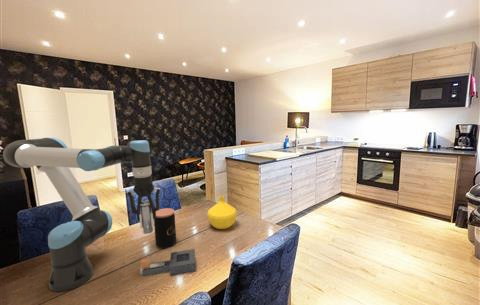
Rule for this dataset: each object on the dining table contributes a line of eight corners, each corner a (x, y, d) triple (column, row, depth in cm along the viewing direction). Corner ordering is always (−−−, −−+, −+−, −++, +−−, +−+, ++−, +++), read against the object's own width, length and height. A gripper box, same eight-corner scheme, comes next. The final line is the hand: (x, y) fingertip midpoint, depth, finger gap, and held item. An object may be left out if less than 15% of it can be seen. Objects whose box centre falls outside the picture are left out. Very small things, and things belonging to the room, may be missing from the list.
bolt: (140, 274, 97) (139, 262, 97) (141, 270, 100) (140, 259, 99) (164, 270, 100) (164, 259, 99) (165, 266, 102) (164, 255, 101)
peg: (141, 235, 99) (138, 204, 97) (143, 229, 104) (140, 200, 102) (153, 233, 100) (150, 203, 98) (154, 228, 105) (152, 199, 103)
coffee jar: (170, 249, 115) (168, 216, 113) (151, 248, 118) (149, 215, 115) (179, 239, 126) (178, 208, 123) (162, 237, 128) (160, 207, 125)
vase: (221, 216, 154) (220, 189, 151) (242, 223, 143) (242, 194, 140) (201, 227, 139) (200, 197, 136) (224, 235, 128) (223, 203, 126)
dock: (141, 280, 93) (140, 272, 93) (145, 264, 104) (144, 256, 103) (196, 271, 99) (195, 262, 98) (195, 256, 109) (194, 248, 109)
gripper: (119, 179, 92) (125, 233, 96) (162, 176, 96) (166, 227, 100) (123, 175, 100) (129, 225, 103) (163, 172, 104) (167, 220, 107)
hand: (147, 226), depth 101 cm, fingers closed on peg, 4 cm apart
